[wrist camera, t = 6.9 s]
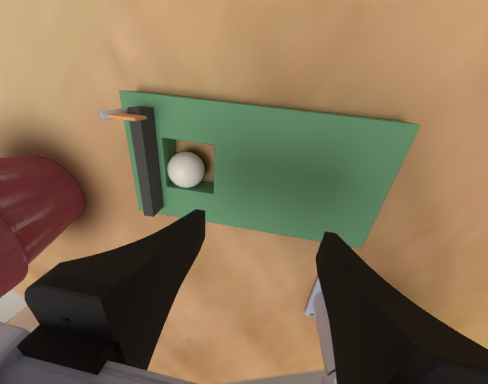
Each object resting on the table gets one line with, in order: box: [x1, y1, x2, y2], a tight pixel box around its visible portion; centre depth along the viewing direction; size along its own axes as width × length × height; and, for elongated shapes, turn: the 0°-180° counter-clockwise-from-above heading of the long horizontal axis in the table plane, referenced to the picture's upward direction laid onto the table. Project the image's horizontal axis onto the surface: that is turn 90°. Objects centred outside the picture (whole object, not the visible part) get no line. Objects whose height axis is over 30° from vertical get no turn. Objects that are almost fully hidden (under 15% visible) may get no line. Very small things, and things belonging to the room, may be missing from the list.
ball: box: [167, 152, 205, 188], centre depth 20 cm, size 4×4×4 cm
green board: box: [98, 91, 420, 248], centre depth 18 cm, size 24×12×6 cm, turn 85°
